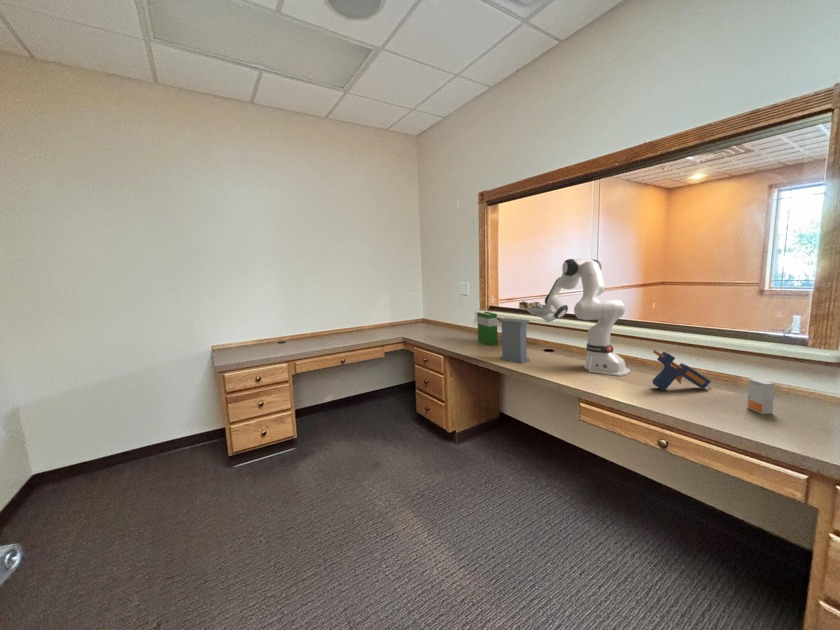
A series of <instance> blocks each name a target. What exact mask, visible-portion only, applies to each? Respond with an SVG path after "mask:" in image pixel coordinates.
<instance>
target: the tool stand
mask: <svg viewBox="0 0 840 630" xmlns="http://www.w3.org/2000/svg"><path fill="white" fill-rule="evenodd" d="M498 322H499V323H501V354H502V355H500V356H499V360H502V359H504V360H503V361H507V360H509V361H508V362H512V361H513V362H512V363H517V362H518V363H517V364H525V363H527V362H530V360H531V358H529V357H528V354H527V353H528V352H527V351H528V350H527V348H528V346H527V345H528V343H527V324H529V323H530V320H529V319H520V318H511V317H510V318H507V317H505V318H501V319H498Z"/></svg>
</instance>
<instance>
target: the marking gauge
mask: <svg viewBox="0 0 840 630" xmlns="http://www.w3.org/2000/svg"><path fill="white" fill-rule="evenodd" d="M536 303H539V304H541V303H540V301H533V302H526V301H525V300H523V301H519V302H518V309H519V310H524V309H525V310H526V309H528V308H531V307H535V306H536Z"/></svg>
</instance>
